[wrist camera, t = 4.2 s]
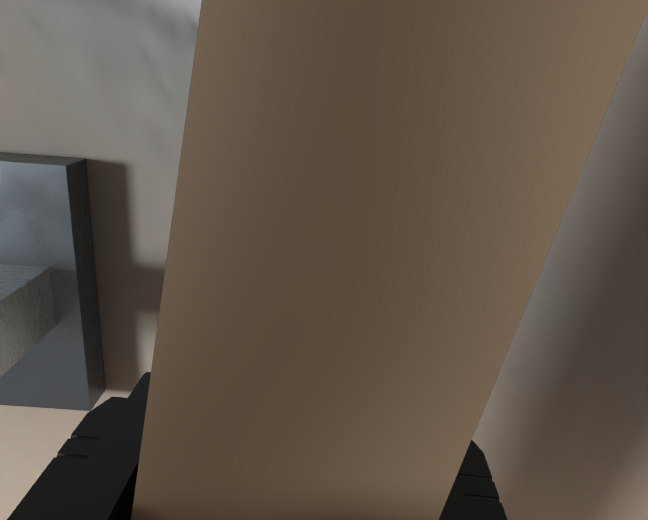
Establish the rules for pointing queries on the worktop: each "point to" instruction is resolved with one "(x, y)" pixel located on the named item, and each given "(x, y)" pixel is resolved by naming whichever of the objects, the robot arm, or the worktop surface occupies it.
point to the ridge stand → (47, 285)
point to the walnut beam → (360, 243)
